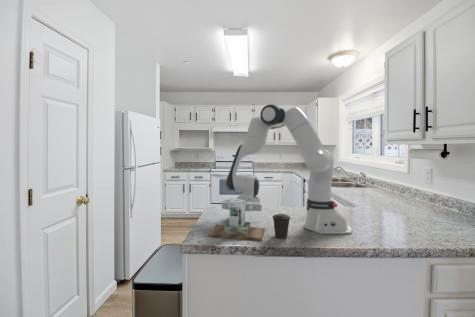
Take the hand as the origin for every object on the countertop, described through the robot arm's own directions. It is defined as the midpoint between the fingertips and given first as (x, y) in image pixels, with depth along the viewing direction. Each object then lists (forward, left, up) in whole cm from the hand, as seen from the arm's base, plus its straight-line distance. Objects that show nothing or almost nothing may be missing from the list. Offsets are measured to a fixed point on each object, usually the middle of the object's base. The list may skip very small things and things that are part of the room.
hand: (239, 209), depth 128 cm
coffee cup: (-20, +4, -11) cm, 23 cm away
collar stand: (0, +4, -10) cm, 11 cm away
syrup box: (0, +4, -9) cm, 10 cm away
